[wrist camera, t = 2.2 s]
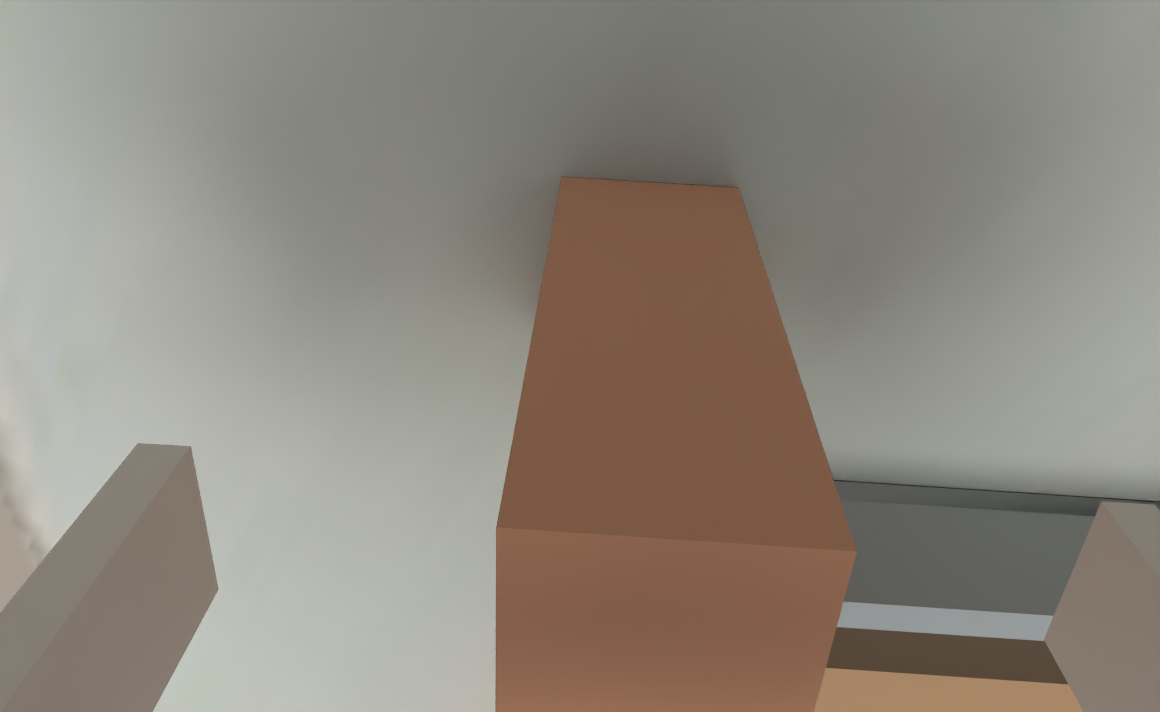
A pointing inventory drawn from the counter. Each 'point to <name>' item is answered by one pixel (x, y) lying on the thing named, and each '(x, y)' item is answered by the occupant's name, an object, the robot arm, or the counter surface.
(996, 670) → the tray box
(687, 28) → the counter surface
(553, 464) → the peg
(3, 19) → the counter surface
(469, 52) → the counter surface
